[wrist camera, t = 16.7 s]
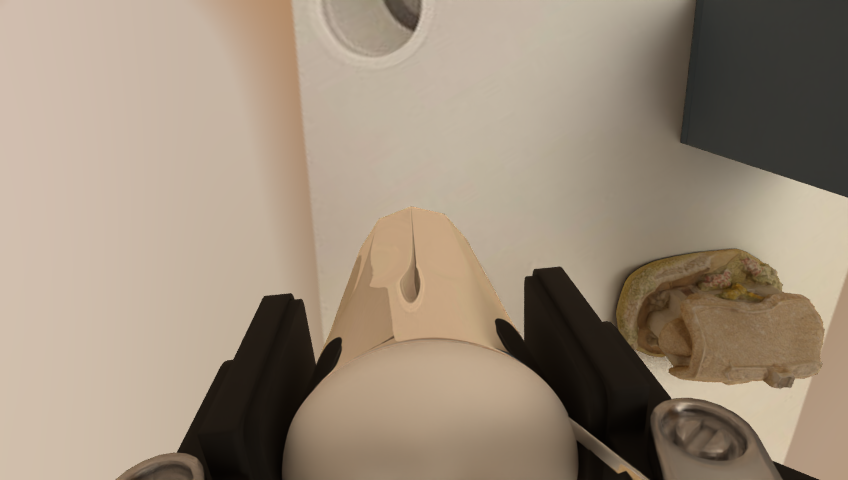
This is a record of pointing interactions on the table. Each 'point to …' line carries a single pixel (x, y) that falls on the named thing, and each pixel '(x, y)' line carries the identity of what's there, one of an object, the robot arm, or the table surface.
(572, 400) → the robot arm
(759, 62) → the box
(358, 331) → the milkshake
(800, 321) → the ceramic model
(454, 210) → the table surface
